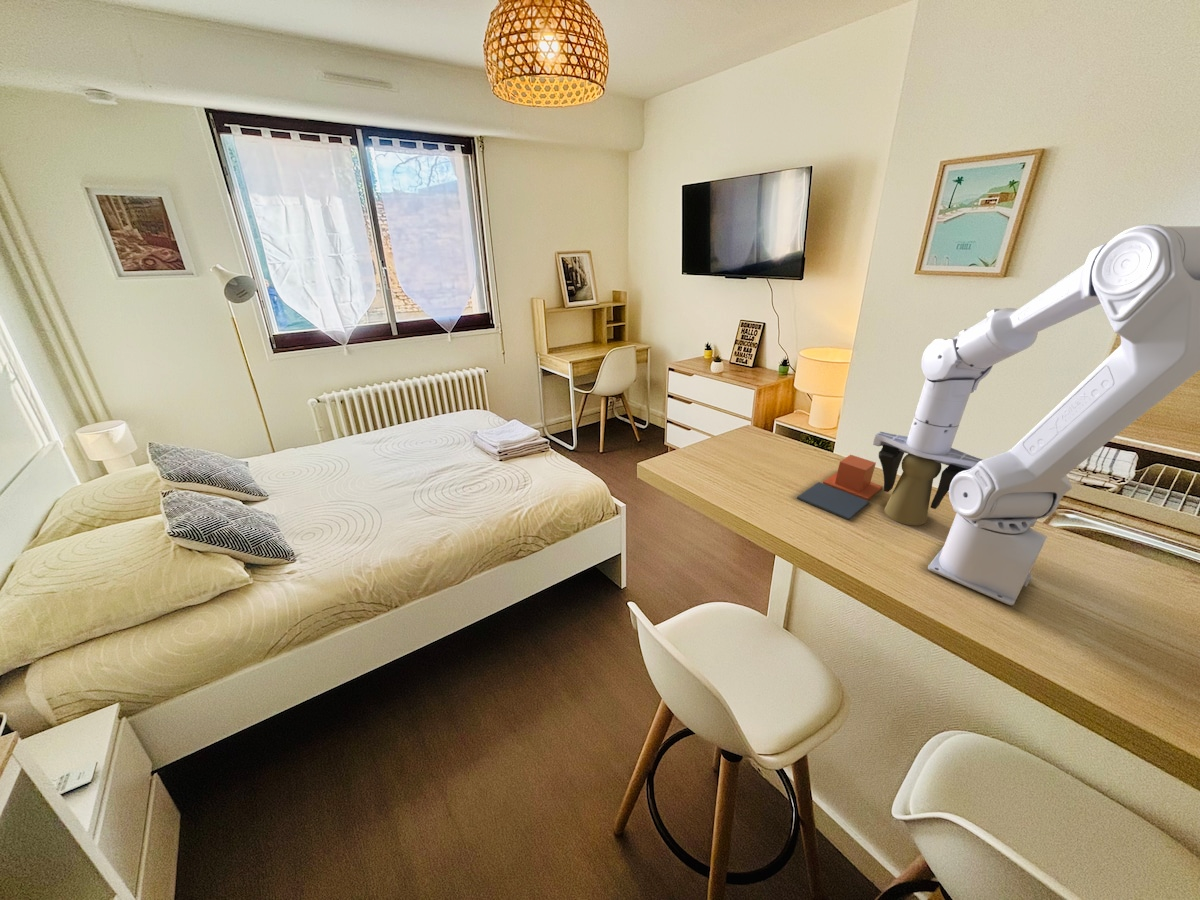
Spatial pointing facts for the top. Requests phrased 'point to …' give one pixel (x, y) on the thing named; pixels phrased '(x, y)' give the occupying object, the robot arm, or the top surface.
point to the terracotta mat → (864, 494)
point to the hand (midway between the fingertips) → (910, 497)
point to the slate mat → (833, 500)
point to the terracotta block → (855, 473)
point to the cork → (913, 490)
